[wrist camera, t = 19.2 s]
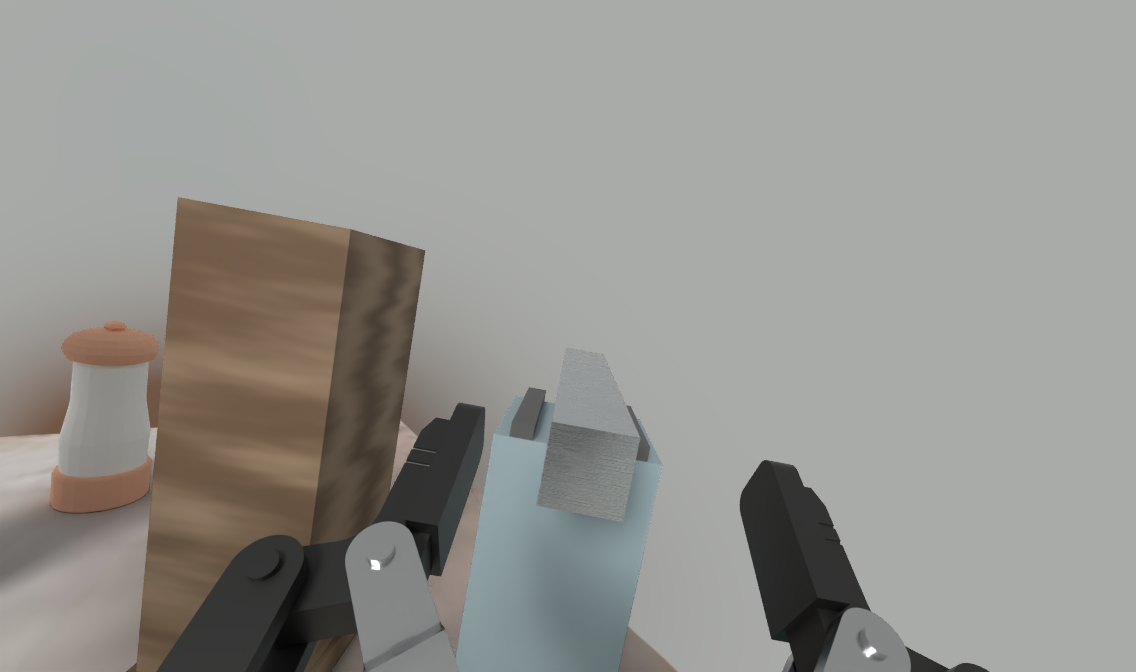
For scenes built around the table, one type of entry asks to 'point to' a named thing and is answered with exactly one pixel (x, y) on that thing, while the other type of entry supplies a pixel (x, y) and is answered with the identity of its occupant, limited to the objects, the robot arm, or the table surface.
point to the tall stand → (271, 400)
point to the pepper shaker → (105, 421)
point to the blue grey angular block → (550, 560)
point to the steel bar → (589, 442)
